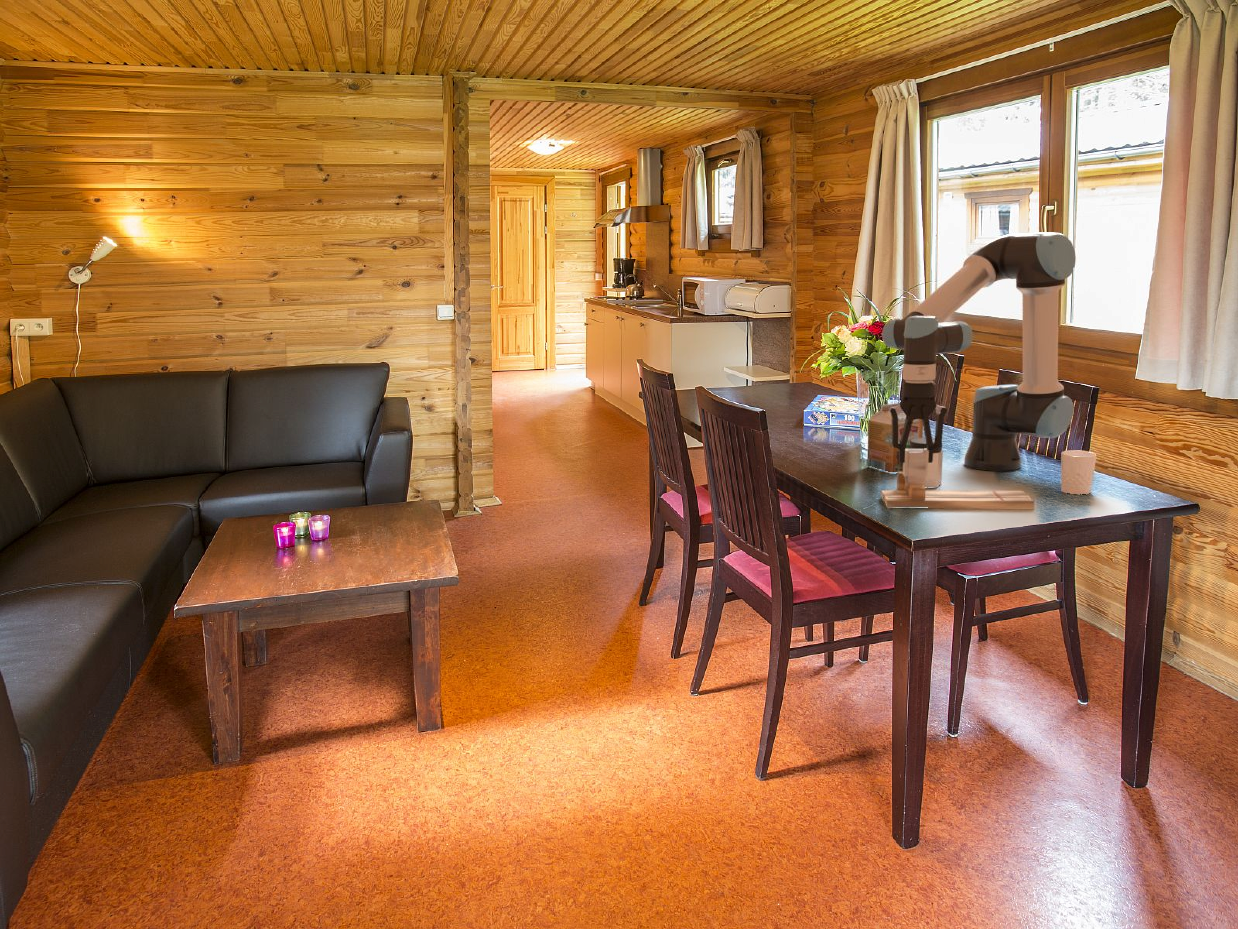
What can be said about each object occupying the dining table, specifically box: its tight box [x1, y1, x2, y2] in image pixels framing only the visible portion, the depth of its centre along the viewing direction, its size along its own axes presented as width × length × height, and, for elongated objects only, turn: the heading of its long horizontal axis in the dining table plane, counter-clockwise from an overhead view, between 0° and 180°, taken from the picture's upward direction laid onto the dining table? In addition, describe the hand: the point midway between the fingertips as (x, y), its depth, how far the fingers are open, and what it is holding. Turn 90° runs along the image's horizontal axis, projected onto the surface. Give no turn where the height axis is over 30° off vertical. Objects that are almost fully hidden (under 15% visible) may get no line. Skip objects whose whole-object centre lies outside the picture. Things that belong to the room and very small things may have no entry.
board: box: [880, 489, 1035, 510], centre depth 229 cm, size 10×34×2 cm, turn 82°
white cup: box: [1060, 449, 1097, 496], centre depth 235 cm, size 8×8×10 cm
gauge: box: [896, 449, 927, 501], centre depth 229 cm, size 14×6×13 cm, turn 172°
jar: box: [910, 437, 944, 488], centre depth 246 cm, size 9×8×12 cm
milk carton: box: [866, 402, 924, 472], centre depth 265 cm, size 11×11×19 cm
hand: (915, 475), depth 229 cm, fingers closed on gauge, 4 cm apart
